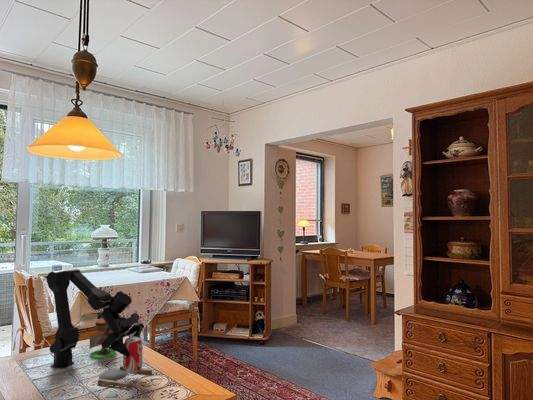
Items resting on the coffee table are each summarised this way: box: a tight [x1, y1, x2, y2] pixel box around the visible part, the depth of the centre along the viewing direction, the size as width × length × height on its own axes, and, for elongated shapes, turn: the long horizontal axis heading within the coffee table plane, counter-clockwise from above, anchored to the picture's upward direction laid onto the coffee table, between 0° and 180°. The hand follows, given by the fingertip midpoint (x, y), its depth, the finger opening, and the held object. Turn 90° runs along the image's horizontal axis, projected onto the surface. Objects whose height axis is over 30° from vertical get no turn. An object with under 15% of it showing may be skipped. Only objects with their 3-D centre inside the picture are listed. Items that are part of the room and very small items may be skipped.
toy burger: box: [88, 318, 117, 360], centre depth 172 cm, size 12×13×15 cm
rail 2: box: [119, 365, 153, 375], centre depth 153 cm, size 14×1×2 cm, turn 76°
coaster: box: [98, 368, 127, 381], centre depth 149 cm, size 10×10×1 cm
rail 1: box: [97, 378, 134, 389], centre depth 140 cm, size 14×1×2 cm, turn 76°
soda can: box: [122, 336, 143, 374], centre depth 146 cm, size 7×7×12 cm
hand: (135, 353), depth 146 cm, fingers closed on soda can, 7 cm apart
